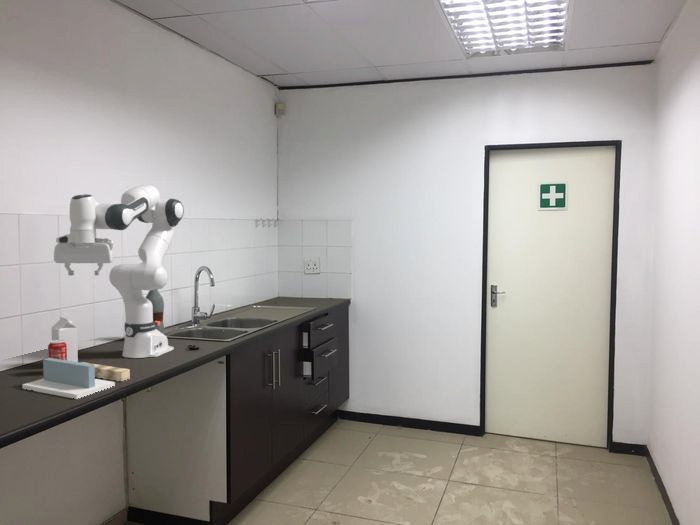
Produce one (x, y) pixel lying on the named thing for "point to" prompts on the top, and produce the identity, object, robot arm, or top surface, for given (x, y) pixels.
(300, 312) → the top surface
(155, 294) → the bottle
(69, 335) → the milk carton
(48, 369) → the ridge stand
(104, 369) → the maple bar
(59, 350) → the beverage can
